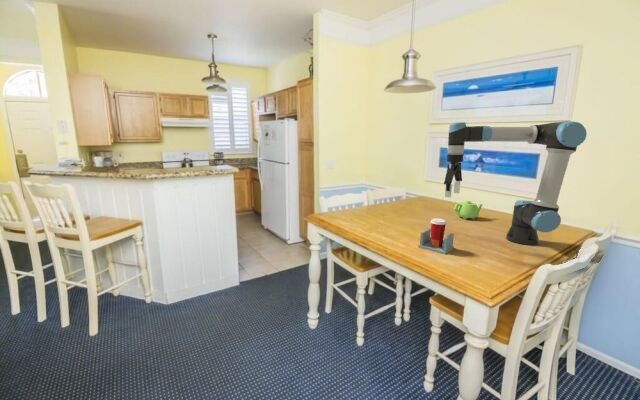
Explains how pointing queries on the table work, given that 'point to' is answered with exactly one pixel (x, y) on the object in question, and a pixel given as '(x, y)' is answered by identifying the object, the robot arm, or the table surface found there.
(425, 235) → the holder
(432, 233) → the paper cup
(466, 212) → the teapot
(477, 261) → the table surface
